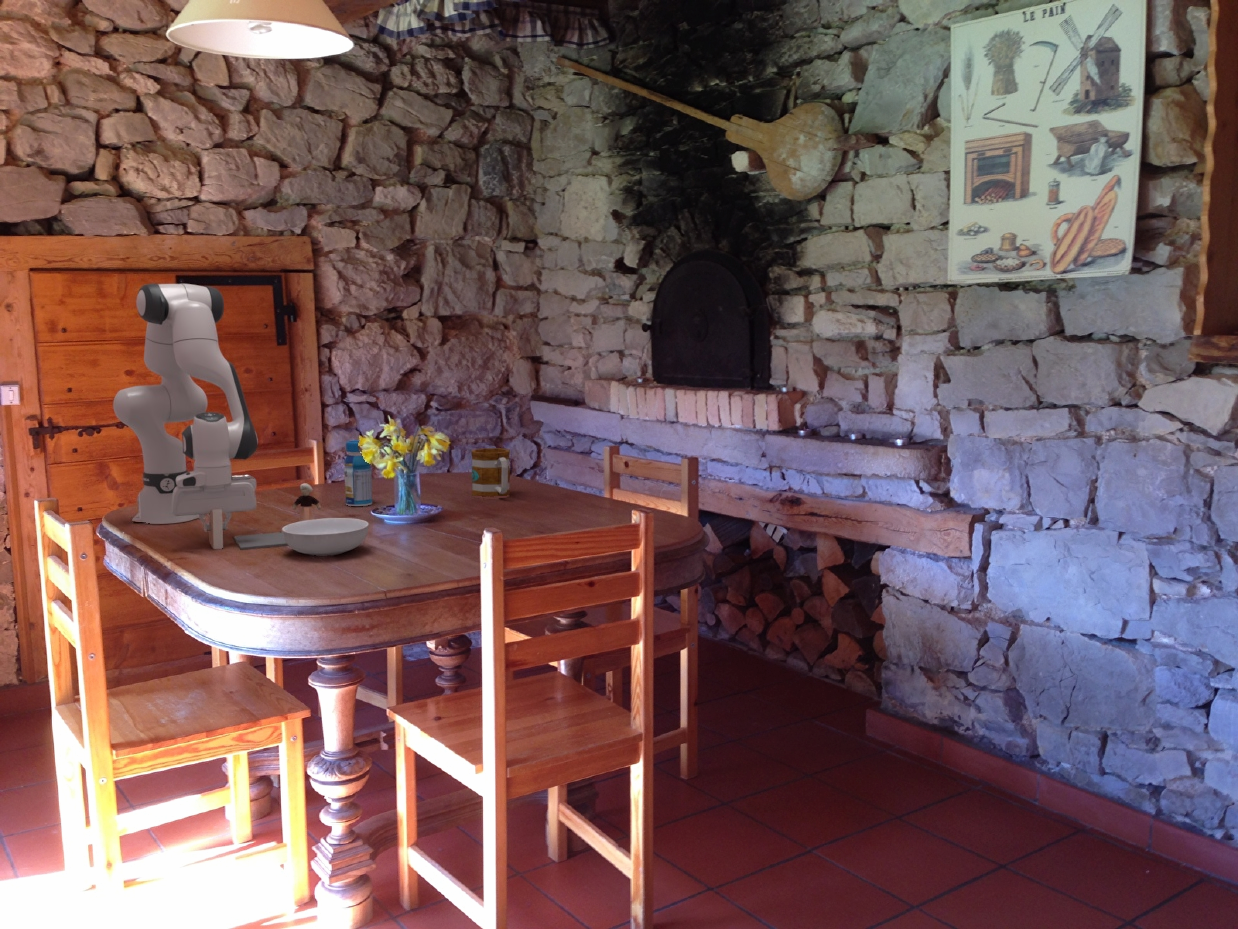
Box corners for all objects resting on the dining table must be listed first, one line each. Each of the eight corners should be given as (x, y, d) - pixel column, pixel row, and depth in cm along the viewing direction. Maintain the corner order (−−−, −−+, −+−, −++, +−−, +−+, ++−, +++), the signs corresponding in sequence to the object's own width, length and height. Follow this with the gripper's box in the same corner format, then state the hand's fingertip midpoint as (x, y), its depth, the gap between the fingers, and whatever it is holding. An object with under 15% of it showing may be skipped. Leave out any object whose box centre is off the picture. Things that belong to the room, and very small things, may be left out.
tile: (209, 543, 269) (208, 505, 268) (219, 542, 270) (218, 504, 269) (212, 549, 262) (211, 510, 261) (223, 548, 263) (222, 509, 262)
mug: (464, 494, 345) (464, 449, 343) (502, 491, 351) (502, 447, 349) (486, 503, 328) (485, 456, 326) (525, 500, 334) (525, 454, 332)
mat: (233, 538, 275) (233, 536, 275) (296, 533, 282) (296, 531, 282) (240, 549, 262) (240, 547, 262) (306, 543, 269) (306, 541, 269)
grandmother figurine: (292, 530, 286) (291, 484, 284) (293, 527, 290) (291, 482, 288) (321, 528, 288) (320, 483, 286) (321, 526, 292) (320, 481, 290)
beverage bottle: (366, 507, 320) (364, 443, 317) (340, 506, 321) (338, 442, 318) (377, 502, 328) (375, 440, 325) (351, 502, 330) (349, 439, 327)
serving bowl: (336, 539, 275) (335, 514, 274) (386, 551, 262) (385, 524, 261) (266, 553, 259) (265, 526, 258) (315, 566, 246) (314, 537, 245)
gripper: (254, 472, 271) (256, 524, 273) (169, 477, 262) (172, 531, 264) (257, 475, 266) (260, 528, 268) (170, 481, 257) (174, 536, 259)
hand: (215, 530), depth 266 cm, fingers closed on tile, 3 cm apart
